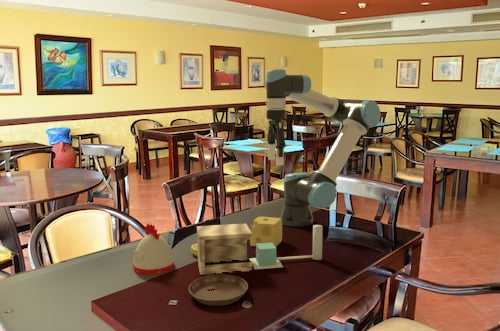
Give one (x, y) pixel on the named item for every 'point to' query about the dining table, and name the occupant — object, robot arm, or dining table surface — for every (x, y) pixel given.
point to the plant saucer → (218, 289)
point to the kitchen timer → (152, 253)
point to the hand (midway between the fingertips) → (275, 162)
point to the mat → (256, 266)
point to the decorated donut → (194, 249)
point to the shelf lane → (222, 247)
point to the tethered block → (268, 257)
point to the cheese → (266, 231)
